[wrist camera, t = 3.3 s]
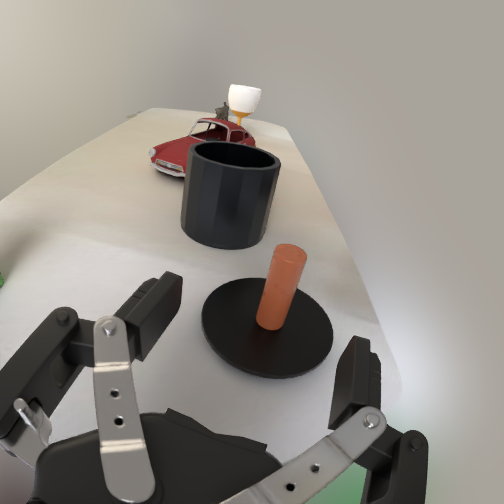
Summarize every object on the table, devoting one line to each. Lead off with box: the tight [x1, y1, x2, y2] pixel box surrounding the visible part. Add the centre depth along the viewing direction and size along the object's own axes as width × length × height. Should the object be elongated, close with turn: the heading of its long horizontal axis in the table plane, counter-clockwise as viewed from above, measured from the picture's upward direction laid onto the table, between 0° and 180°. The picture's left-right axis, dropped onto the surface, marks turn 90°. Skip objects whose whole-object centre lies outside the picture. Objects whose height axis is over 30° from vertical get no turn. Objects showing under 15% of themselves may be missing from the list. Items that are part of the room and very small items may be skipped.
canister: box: [181, 141, 281, 250], centre depth 41 cm, size 11×11×10 cm
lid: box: [201, 244, 333, 379], centre depth 27 cm, size 12×12×9 cm
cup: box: [228, 84, 261, 126], centre depth 82 cm, size 9×9×16 cm
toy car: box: [149, 118, 256, 177], centre depth 60 cm, size 11×25×10 cm, turn 155°
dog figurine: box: [215, 102, 229, 121], centre depth 104 cm, size 12×6×7 cm, turn 178°
